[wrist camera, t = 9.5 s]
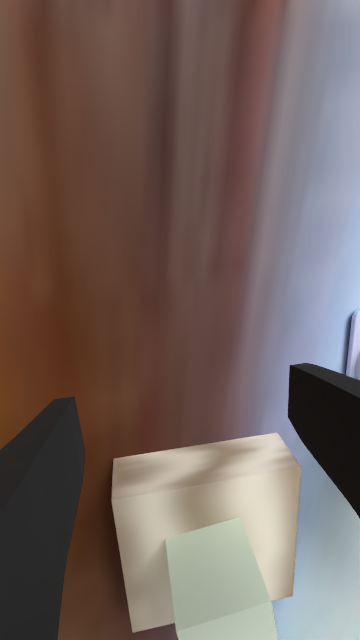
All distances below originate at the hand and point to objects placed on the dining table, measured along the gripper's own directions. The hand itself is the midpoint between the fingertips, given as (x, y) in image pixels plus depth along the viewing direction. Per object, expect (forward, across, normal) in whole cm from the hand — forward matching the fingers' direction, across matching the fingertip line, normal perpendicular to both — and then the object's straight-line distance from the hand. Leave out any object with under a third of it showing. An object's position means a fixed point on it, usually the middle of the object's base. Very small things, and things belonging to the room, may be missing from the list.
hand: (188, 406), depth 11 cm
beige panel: (+10, -2, +16) cm, 19 cm away
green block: (+6, -2, +16) cm, 17 cm away
